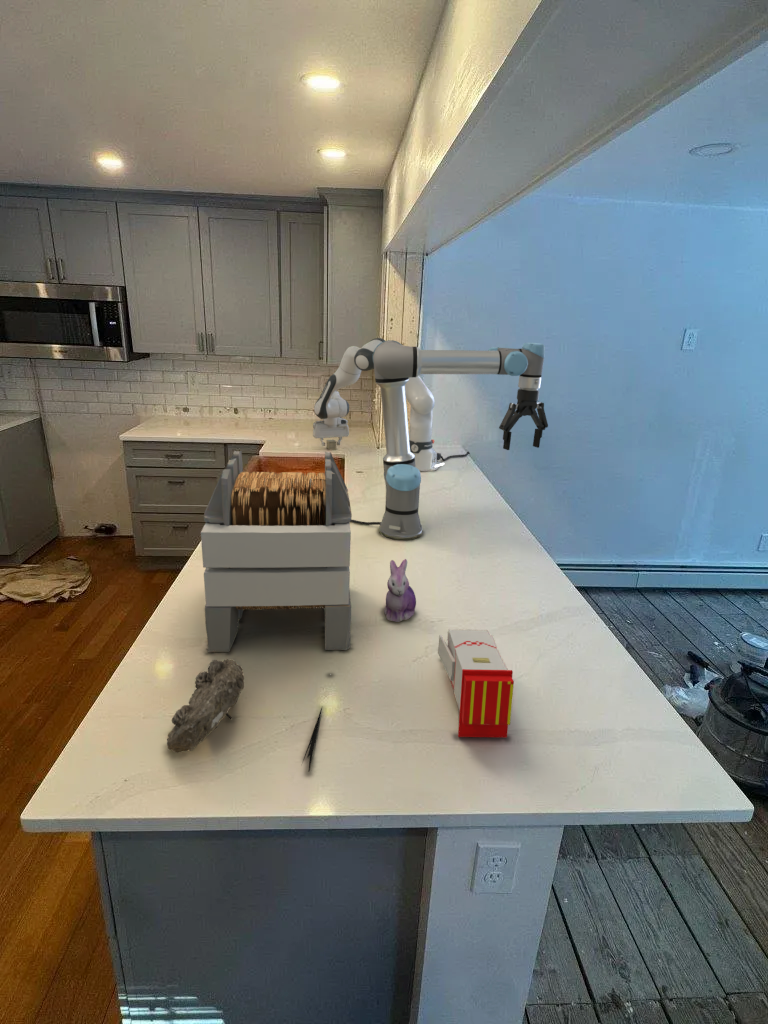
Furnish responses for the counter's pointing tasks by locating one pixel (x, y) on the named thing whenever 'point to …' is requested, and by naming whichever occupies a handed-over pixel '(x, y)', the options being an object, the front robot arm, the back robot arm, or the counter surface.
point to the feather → (313, 740)
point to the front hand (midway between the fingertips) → (521, 448)
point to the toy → (478, 682)
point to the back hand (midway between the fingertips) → (330, 445)
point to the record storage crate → (277, 549)
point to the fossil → (206, 705)
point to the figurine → (399, 594)
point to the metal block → (331, 444)
